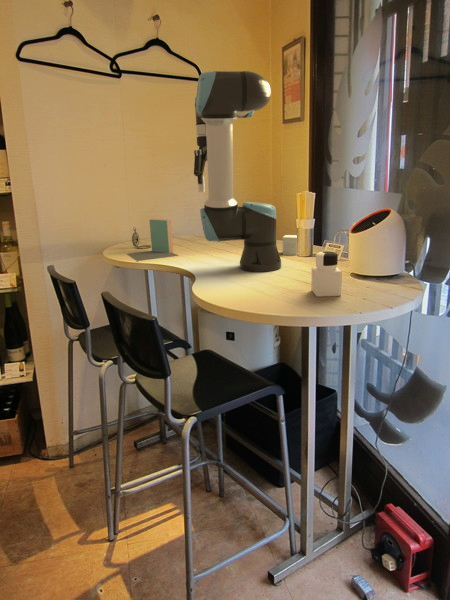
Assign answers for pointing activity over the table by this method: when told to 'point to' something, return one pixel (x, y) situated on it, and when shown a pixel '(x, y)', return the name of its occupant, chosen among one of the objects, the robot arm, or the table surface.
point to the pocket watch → (136, 242)
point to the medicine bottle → (326, 275)
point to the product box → (290, 245)
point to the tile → (161, 235)
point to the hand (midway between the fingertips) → (208, 191)
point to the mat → (150, 255)
